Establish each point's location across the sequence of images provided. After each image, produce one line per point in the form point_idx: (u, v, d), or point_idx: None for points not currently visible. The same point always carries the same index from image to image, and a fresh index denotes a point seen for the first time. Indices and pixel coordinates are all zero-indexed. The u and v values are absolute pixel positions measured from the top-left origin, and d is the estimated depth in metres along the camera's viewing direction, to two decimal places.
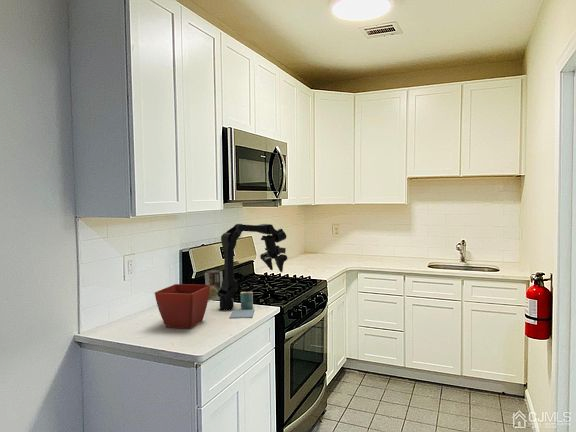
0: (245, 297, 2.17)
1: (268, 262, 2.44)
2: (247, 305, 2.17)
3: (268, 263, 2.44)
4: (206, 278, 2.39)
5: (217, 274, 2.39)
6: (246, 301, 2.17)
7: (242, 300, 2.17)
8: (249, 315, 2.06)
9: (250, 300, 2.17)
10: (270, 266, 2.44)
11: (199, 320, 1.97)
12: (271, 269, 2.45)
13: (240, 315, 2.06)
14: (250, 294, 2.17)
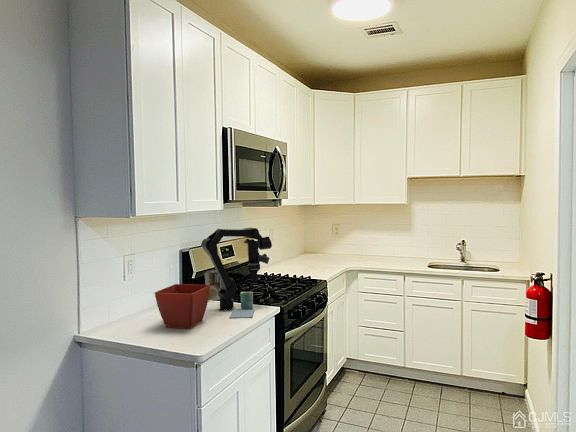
0: (245, 297, 2.17)
1: None
2: (247, 305, 2.17)
3: None
4: (206, 278, 2.39)
5: (217, 274, 2.39)
6: (246, 301, 2.17)
7: (242, 300, 2.17)
8: (249, 315, 2.06)
9: (250, 300, 2.17)
10: None
11: (199, 320, 1.97)
12: None
13: (240, 315, 2.06)
14: (250, 294, 2.17)
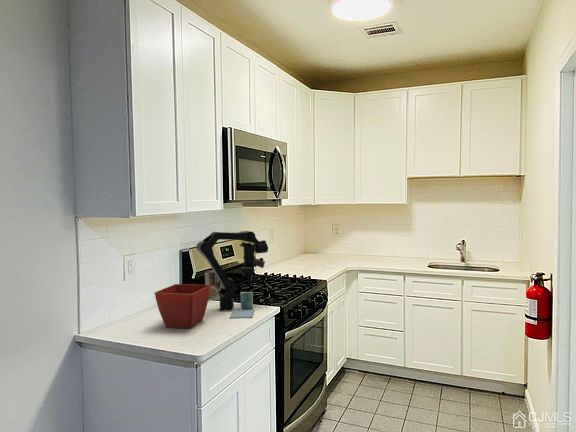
0: (245, 297, 2.17)
1: None
2: (247, 305, 2.17)
3: None
4: (206, 278, 2.39)
5: None
6: (246, 301, 2.17)
7: (242, 300, 2.17)
8: (249, 315, 2.06)
9: (250, 300, 2.17)
10: None
11: (199, 320, 1.97)
12: None
13: (240, 315, 2.06)
14: (250, 294, 2.17)
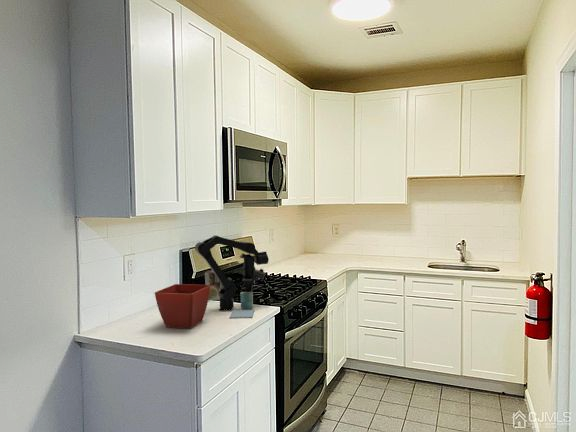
0: (245, 297, 2.17)
1: None
2: (247, 305, 2.17)
3: None
4: (206, 278, 2.39)
5: None
6: (246, 301, 2.17)
7: (242, 300, 2.17)
8: (249, 315, 2.06)
9: (250, 300, 2.17)
10: None
11: (199, 320, 1.97)
12: None
13: (240, 315, 2.06)
14: (250, 294, 2.17)
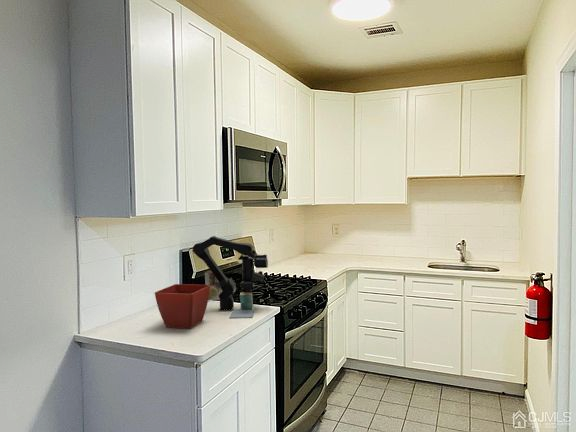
0: (245, 299, 2.15)
1: None
2: (247, 306, 2.16)
3: None
4: (206, 278, 2.39)
5: None
6: (246, 302, 2.16)
7: (242, 301, 2.16)
8: (249, 315, 2.06)
9: (250, 301, 2.15)
10: None
11: (199, 320, 1.97)
12: None
13: (240, 315, 2.06)
14: (250, 296, 2.14)
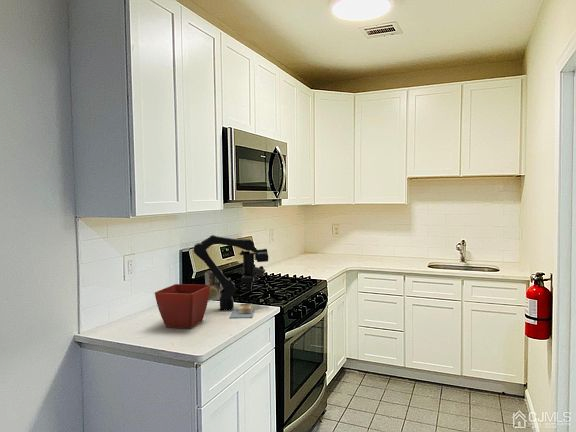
0: None
1: None
2: None
3: None
4: (206, 278, 2.39)
5: None
6: None
7: None
8: (249, 315, 2.06)
9: None
10: None
11: (199, 320, 1.97)
12: None
13: (240, 315, 2.06)
14: None
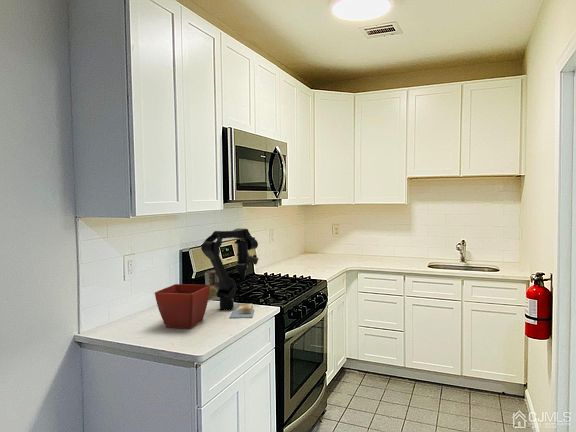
0: None
1: None
2: None
3: None
4: (206, 278, 2.39)
5: None
6: None
7: None
8: (249, 315, 2.06)
9: None
10: None
11: (199, 320, 1.97)
12: (242, 278, 2.32)
13: (240, 315, 2.06)
14: None
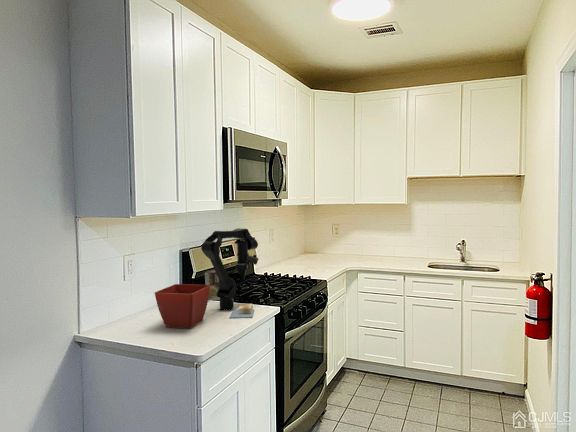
0: None
1: None
2: None
3: None
4: (206, 278, 2.39)
5: None
6: None
7: None
8: (249, 315, 2.06)
9: None
10: None
11: (199, 320, 1.97)
12: None
13: (240, 315, 2.06)
14: None
